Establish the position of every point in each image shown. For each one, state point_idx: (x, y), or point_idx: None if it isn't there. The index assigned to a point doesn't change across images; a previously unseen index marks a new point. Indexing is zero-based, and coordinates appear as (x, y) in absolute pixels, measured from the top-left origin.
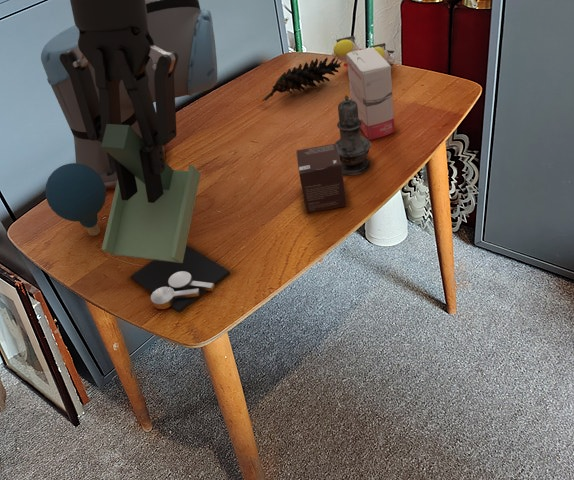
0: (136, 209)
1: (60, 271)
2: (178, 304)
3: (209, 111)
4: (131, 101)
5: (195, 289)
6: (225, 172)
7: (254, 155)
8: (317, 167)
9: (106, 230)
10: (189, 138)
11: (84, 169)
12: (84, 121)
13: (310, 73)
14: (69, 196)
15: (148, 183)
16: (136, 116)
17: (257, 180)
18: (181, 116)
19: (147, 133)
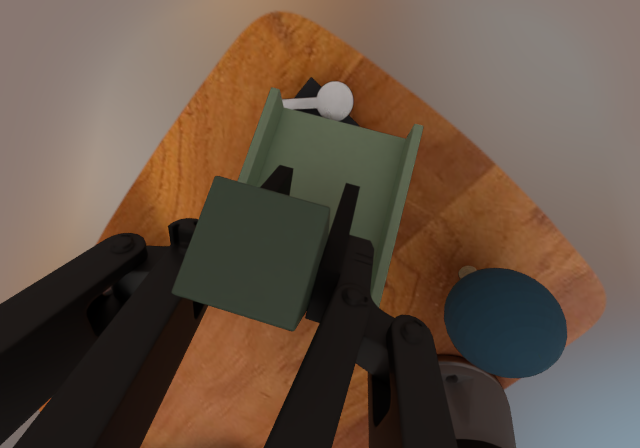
0: (356, 215)
1: (517, 199)
2: (312, 89)
3: None
4: (100, 432)
5: (284, 107)
6: (293, 350)
7: (260, 371)
8: (106, 291)
9: (413, 161)
10: (351, 423)
11: (483, 353)
12: (440, 399)
13: None
14: (511, 295)
15: (267, 186)
16: (147, 346)
17: (248, 326)
18: None
19: (161, 277)
